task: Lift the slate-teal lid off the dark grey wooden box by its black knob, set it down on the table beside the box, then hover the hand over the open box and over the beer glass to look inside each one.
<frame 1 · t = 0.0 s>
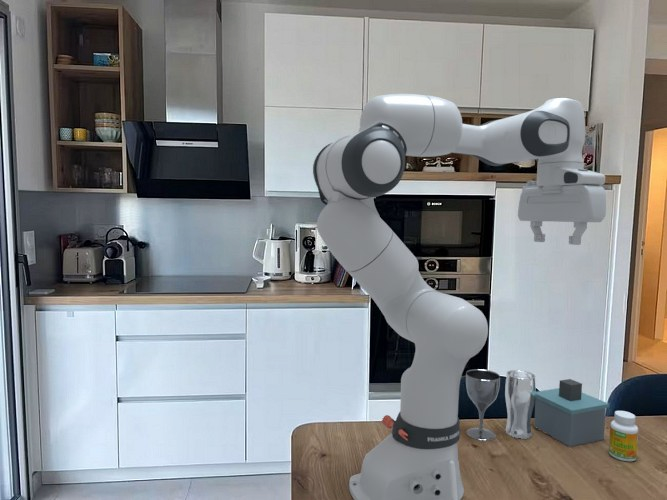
hand: (556, 243, 101), 48 cm above the table, tool pointing down, fingers open, 8 cm apart
lid: (569, 401, 117), point 8 cm above the table, touching storage box
storage box: (568, 433, 118), on the table
supplement bottle: (622, 456, 107), on the table
beer glass: (518, 434, 117), on the table
wine glass: (480, 434, 116), on the table
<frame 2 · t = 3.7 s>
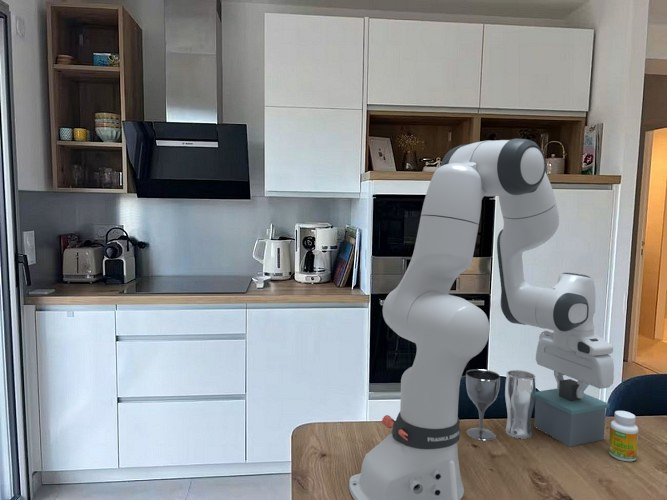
hand: (570, 393, 117), 10 cm above the table, tool pointing down, fingers closed on lid, 3 cm apart
lid: (569, 401, 117), point 8 cm above the table, touching gripper, storage box
everything else where it was.
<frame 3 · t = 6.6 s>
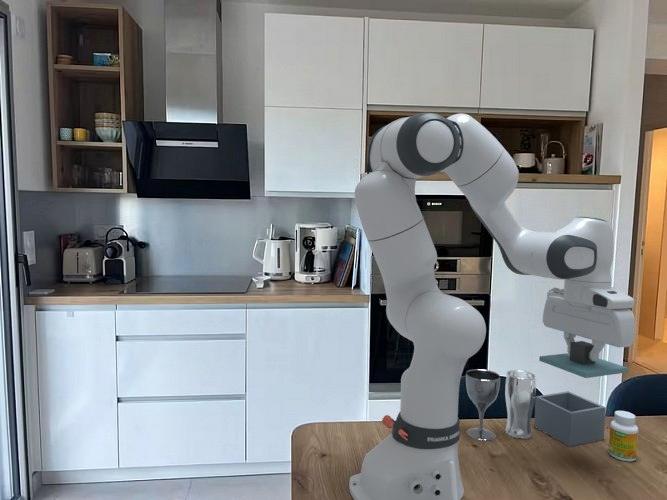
hand: (582, 356, 102), 24 cm above the table, tool pointing down, fingers closed on lid, 3 cm apart
lid: (582, 366, 102), point 21 cm above the table, touching gripper
everything else where it was.
when the fingers open (4 cm above the table, at t = 9.6 s): lid drops 2 cm, on the table.
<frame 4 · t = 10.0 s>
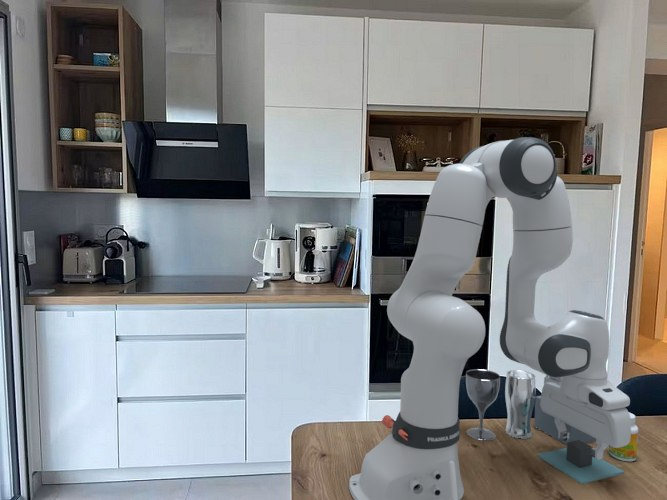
hand: (579, 448, 102), 4 cm above the table, tool pointing down, fingers open, 7 cm apart
lid: (578, 467, 103), on the table
everything else where it was.
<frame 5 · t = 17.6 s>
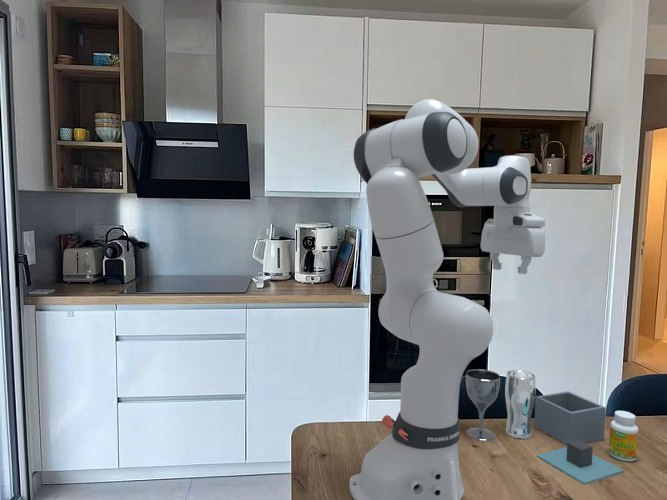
hand: (509, 271, 125), 39 cm above the table, tool pointing down, fingers open, 8 cm apart
nothing on the table moved.
at the end: lid inside the target area (0.0 cm from its centre), on the table; lid tilted 0°; lid touching table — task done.
